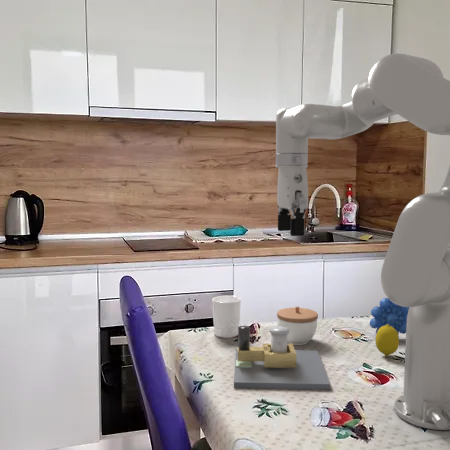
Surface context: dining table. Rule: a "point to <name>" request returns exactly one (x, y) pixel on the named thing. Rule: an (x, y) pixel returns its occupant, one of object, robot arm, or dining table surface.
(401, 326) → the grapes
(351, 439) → the dining table surface
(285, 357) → the tan peg holder
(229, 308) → the white cup
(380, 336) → the lemon
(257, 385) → the post base
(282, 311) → the lidded jar
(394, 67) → the robot arm
